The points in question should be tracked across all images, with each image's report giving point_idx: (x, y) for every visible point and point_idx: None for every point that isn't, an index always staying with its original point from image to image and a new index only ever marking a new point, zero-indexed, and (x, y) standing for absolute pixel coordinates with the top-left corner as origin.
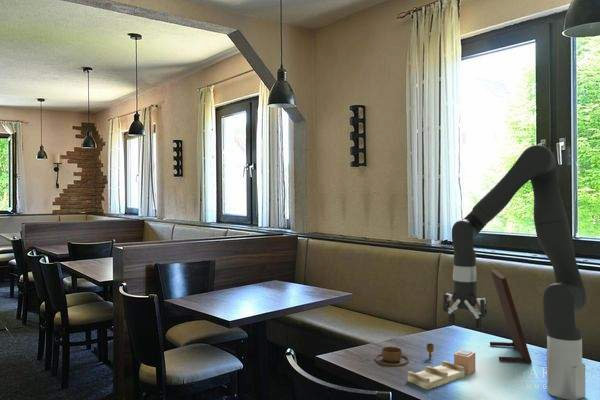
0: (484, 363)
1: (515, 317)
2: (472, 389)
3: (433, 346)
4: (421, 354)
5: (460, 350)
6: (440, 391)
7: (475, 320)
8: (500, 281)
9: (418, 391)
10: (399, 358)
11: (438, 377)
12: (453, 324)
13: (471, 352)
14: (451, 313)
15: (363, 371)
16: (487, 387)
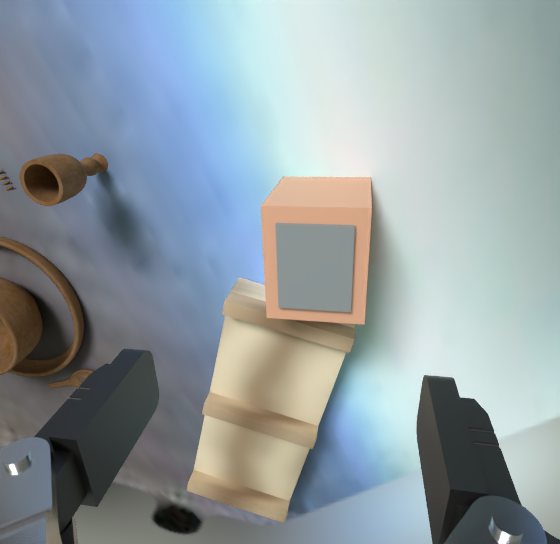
0: (385, 9)
1: None
2: None
3: (69, 179)
4: (20, 118)
5: (268, 229)
6: (332, 480)
7: (436, 529)
8: None
9: None
10: (38, 327)
11: (292, 449)
12: (153, 372)
13: (354, 246)
14: (72, 505)
15: None
16: (489, 374)
